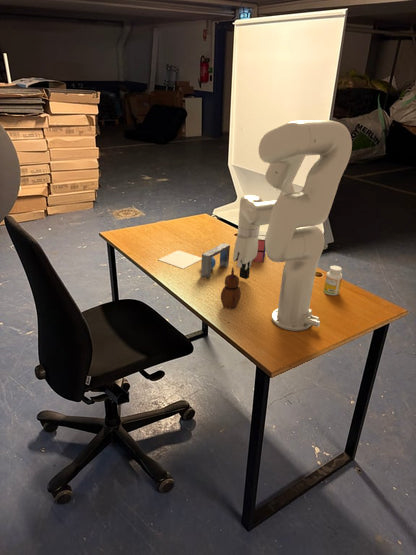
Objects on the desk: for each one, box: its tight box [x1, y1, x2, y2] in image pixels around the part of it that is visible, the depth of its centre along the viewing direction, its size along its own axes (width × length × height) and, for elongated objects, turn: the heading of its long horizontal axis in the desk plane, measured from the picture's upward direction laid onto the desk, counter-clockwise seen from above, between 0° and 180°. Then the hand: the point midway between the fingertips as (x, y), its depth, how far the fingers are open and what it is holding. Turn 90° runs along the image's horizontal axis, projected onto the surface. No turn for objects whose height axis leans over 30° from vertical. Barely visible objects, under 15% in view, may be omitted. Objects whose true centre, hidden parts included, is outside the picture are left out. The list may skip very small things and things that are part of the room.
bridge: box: [200, 242, 231, 280], centre depth 163 cm, size 3×14×9 cm, turn 145°
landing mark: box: [158, 249, 202, 270], centre depth 173 cm, size 13×13×1 cm
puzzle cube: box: [252, 230, 267, 263], centre depth 177 cm, size 10×10×10 cm
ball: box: [211, 256, 216, 270], centre depth 165 cm, size 6×6×6 cm
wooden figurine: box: [220, 267, 242, 310], centre depth 138 cm, size 7×6×15 cm
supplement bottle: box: [323, 265, 343, 296], centre depth 152 cm, size 5×5×10 cm
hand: (244, 277), depth 158 cm, fingers closed
